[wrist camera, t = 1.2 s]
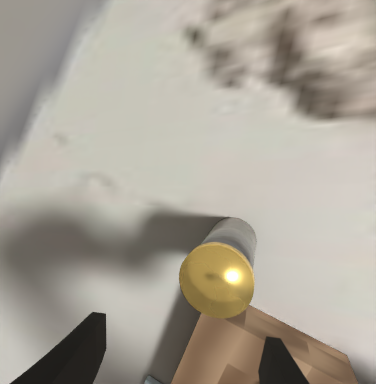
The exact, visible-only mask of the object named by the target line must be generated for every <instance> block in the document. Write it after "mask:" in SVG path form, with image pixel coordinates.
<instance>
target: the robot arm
mask: <svg viewBox="0 0 376 384" xmlns="http://www.w3.org/2000/svg"><path fill="white" fill-rule="evenodd" d="M105 351H106V314H104V313H97V312H92V313H91V314H90V315H89V316H88V317H87V318H85V319H84V320H83V321H82V322H81V323H80V324H79V325H78V326H77V327H76V328H75V329H74V330H73V331H72V332H71V333H70V334H69V335H68V336H66V337H65V338H64V339H63V340H62V341H61V342H60V343H59V344H58V345H56V346H55V347H54V348H53V349H52V350H51V351H50V352H49V353H47V354H46V355H45V356H44V357H43V358H41V359H40V360H39V361H38V362H37V363H35V364H34V365H33V366H32V367H31V368H29V369H28V370H27V371H26V372H24V373H23V374H22V375H21V376H19V377H18V378H17V379H15V380H14V381H13V382H11V383H10V384H93V382H94V380H95V377H96V375H97V373H98V370H99V367H100V365H101V362H102V359H103V356H104V354H105ZM258 374H259V383H260V384H310V383H309V382H308V380H307V379H306V377H305V376H304V374H303V373H302V371H301V370H300V368H299V367H298V365H297V363H296V362H295V360H294V359H293V357H292V356H291V354H290V352H289V351H288V349H287V348H286V346H285V344H284V343H283V341H282V340H281V338H275V337H268V336H266V339H265V343H264V348H263V352H262V357H261V361H260V365H259V370H258Z"/></svg>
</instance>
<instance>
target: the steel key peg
mask: <svg viewBox="0 0 376 384" xmlns="http://www.w3.org/2000/svg"><path fill="white" fill-rule="evenodd" d="M255 249H256V235H255V232H254V230H253V229H252V227H251V226H250V225H249V224H248V223H247V222H245V221H243V220H241V219H238V218H225V219H223V220H221V221H219V222H218V223H217V224H216V225H215V226H214V227H213V229H212V230H211V231H210V233H209V234H208V235H207V237H206V238H205V239H204V240H203V242H202V243H201V244H200V245H199V246H197V247H196V248H195V249H193V250H192V251H191V252H190V253H189V255H188V256H187V257H186V258H185V260H184V261H183V263H182V265H181V268H180V273H179V282H180V287H181V290H182V292H183V294H184V296H185V298H186V299H187V301H188V302H189V303H190V304H191V305H192V306H193V307H194V308H195V309H196V310H197V311H199V312H201V313H202V314H205V315H207V316H210V317H213V318H230V317H233V316H236V315H238V314H240V313H241V312H243V311H244V310H245V309H246V308H247V306H248V305H249V303H250V302H251V299H252V297H253V292H254V281H255V280H254V273H253V264H254V257H255Z"/></svg>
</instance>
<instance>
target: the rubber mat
mask: <svg viewBox="0 0 376 384" xmlns="http://www.w3.org/2000/svg"><path fill="white" fill-rule="evenodd" d="M144 384H161V383H160V382H158V381H157V380H155V379H154V378H152V377H151V376H149V375H148V377H147V379H146V381H145V383H144Z"/></svg>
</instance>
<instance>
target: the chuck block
mask: <svg viewBox="0 0 376 384" xmlns="http://www.w3.org/2000/svg"><path fill="white" fill-rule="evenodd" d="M266 336H268V337H275V338H281V340H282V341H283V343H284V344H285V346H286V348H287V349H288V351H289V352H290V354H291V356H292V357H293V359H294V360H295V362H296V363H297V365H298V367H299V368H300V370H301V371H302V373H303V374H304V376H305V377H306V379H307V380H308V382H309V383H310V384H358V382H357V379H356V377H355V374H354V372H353V369H352V367H351V365H350V362H349V360H348V357H347V355H345V354H343V353H341V352H339V351H337V350H335V349H333V348H331V347H330V346H328V345H326V344H324V343H322V342H320V341H318V340H316V339H314V338H312V337H310V336H308V335H306V334H304V333H302V332H300V331H298V330H296V329H295V328H293V327H291V326H289V325H287V324H285V323H283V322H281V321H279V320H277V319H275V318H273V317H271V316H269V315H267V314H265V313H263V312H262V311H260V310H258V309H256V308H254V307H252V306H250V305H248V306H247V308H246V309H245V310H244V311H243V312H241V313H240V314H238V315H236V316H233V317H230V318H213V317H210V316H207V315H205V314H202V313H201V315H200V317H199V319H198V322H197V324H196V326H195V329H194V331H193V333H192V336H191V338H190V340H189V343H188V345H187V347H186V349H185V352H184V354H183V356H182V359H181V361H180V363H179V366H178V368H177V370H176V373H175V375H174V377H173V380H172V382H171V384H260V383H259V374H258V370H259V365H260V361H261V357H262V352H263V348H264V343H265V339H266Z"/></svg>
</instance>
